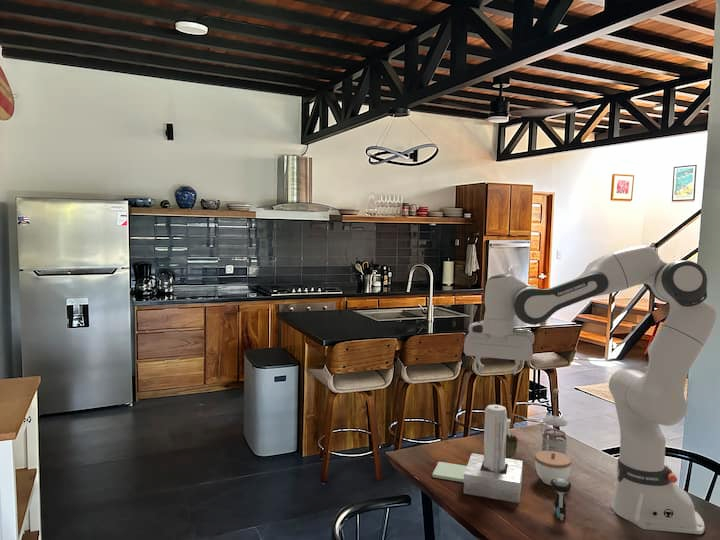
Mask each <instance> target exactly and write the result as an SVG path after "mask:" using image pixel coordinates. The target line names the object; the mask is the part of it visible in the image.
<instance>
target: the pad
mask: <svg viewBox="0 0 720 540" xmlns="http://www.w3.org/2000/svg"><path fill="white" fill-rule="evenodd" d="M466 467H467V465H463V464H457V463H449V462H445V461H438V462H437V465H436V467H435V468H434V470H433V472H432V475H431V477H432V478H434V479H435V478H436V479H441V480H447V481H453V482H459V483H464V473H465V470H466Z"/></svg>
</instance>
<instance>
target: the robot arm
mask: <svg viewBox="0 0 720 540" xmlns="http://www.w3.org/2000/svg"><path fill="white" fill-rule="evenodd" d="M639 285H642V286H644V288H646V289H647V290H648V292H649V293H650V294H651V295H652V296H653V297H654V298H655V299H656V300H658V301H660V302H663V303H666V304H667V303H668V304H669V310H668V314H667V316H666V318H665V320H664V321H663V323H662V325H660V327H659V330H658V331H657V332H656V333H655V335H654V338H653V339H652V341H651V342H650V344H649V346H648V348H647V354H648V364H647V368H646V371H645V373H644V372H642V371H640V370H636V369H629V368H624V369H623V368H622V369H619V370H617V371H616V372H614V373H612V375H611V377H610V378H609V382H608V389H609V390H608V391H609V392H610V394H611V395H612V398H613V402H614V405H615V409H616V415H617V419H618V424H619V425H618V426H619V431H620V432H619V433H620V436H619V437H620V439H619V457H618V458H617V464H616V478H617V483H616V486H615V487H616V488H615V491H614V492H615V493H614V496H613V499H612V501H611V503H610V507H611V510H612V511H613V512H614V513H615V514H616V515H618V516H619V517H621V518H623V519H625V520H627V521H629V522H631V523H633V524H635V525H636V526H637V527H638V528H640V529H642V530H647V531H648V530H649V531H650V530H651V531H657V532H658V531H660V532H671V533H681V534H682V533H683V534H690V535H691V534H694V535H702V534H704V532H705V528H706V527H705V522H704V519H703V518H702V516H701V515H700V513H698V512H697V510H695V506H694V503H693V500H692V499H691V497H690V495H689V494H688V493H687V492H686V491H685V490H684V489H682V488H681V487H680V486H679V485H678V484H677V482H678V478H677V475H676V474H675V473H673V470H671V469H670V467H669V466H668V465H665V464H666V463H665V457H666V438H665V435H664V434H663V432H662V430H661V427H660V425H662V426H668V427H669V426H670V427H671V426H674V425H677V424H678V423H680V422H681V421H682V420H683V419H684V418H685V416H686V414H687V411H688V410H687V409H688V404H687V400H686V398H685V387H686V383H687V382H686V381H687V377H688V374H689V372H690V370H691V368H692V366H693V364H694V362H695V361H696V359H697V358H698V356H699V354H700V352H701V351H702V349H703V347H704V346H705V344H706V342H707V341H708V339H709V337H710V335H711V333H712V331H713V327H714V325H715V323H716V319H717V312H716V310H715V308H714V307H713V306H712V305H711V304H710V303H709V302H707V301H706V299H707V297H708V291H707V289H708V288H707V287H708V286H707V285H708V277H707V273H706V271H705V269H704V268H703V267H702V266H701V265H700V264H698V263H697V262H695V261H691V260H686V259H685V260H684V259H680V260H675V261H672V262H668V263H667V262H664V261H663V260H662V259H661V257H660V255H659V253H658V252H657V251H656V250H655V249H654V248H652V247H651V246H649V245H637V246H632V247H628V248H624V249H620V250H617V251H614V252H610V253H608V254H606V255H603V256H601V257H598V258H596V259H594V260H593V261H592V262H589V263H588V265H587V266H586V267H585V269H584V271H583V272H582V273H581V274H580V275H579V276H577V277H576V278H573V279H571V280H568V281H566V282H562V283H560V284H558V285H555V286H552V287H550V288H543V289H542V288H539V287H537V286H535V285H532V284H529V283H527V282H524V281H522V280H521V279H519V278H517V277H515V276H514V275H513V274H511V273H500V274H496V275H492V276H491V277H489V278H488V279H487V280H486V284H485V291H484V307H485V312H484V314H483V320H480V321H475V322H472V323H470V324H469V325H468V333H467V335H466V336H465V338H464V344H463V353H464V354H465V356H468V357H475V362H476V364H477V366H478V371H479V372H484V371H485V364H482V362H481V358H490V359H491V358H493V359H502V360H514V364H515V365H514V366H511V367H510V375H516V374H517V368H518V367H519V366H520V364H521V361H524V362H530V361H531V360H533V357H534V356H533V353H534V352H533V344H534V343H535V338H536V337H535V333H534V332H533V331H531V330H530V329H526V328H525V329H521V328H515V316H516V317H517V318H518V319H519V320H520V321H521V322H522V323H525V324H526V325H530V326H531V325H534V326H536V325H540V324H543V323H544V322H546V321H547V320H548V319H550V317H552V315H554V314H555V313H556V312H558V311H559V310H561V309H564V308H567V307H569V306H571V305H574V304H577V303H579V302H582V301H584V300H587V299H590V298H594V297H599V296H604V295H605V296H606V295H610V294H614V293H618V292H621V291H625V290H627V289H630V288H632V287H636V286H639Z"/></svg>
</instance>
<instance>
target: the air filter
mask: <svg viewBox="0 0 720 540" xmlns="http://www.w3.org/2000/svg"><path fill="white" fill-rule="evenodd" d="M507 411H508V410H507V408H506V407H505V406H503V405H501V404H489V405H487V406H486V407H485V409H484V430H483V431H484V436H483V437H484V439H483V455H484V466H483V471H487V472H494V473H500V474H505V459H506V427H507V418H508V412H507Z"/></svg>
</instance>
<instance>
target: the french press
mask: <svg viewBox="0 0 720 540" xmlns="http://www.w3.org/2000/svg"><path fill="white" fill-rule="evenodd" d="M552 392H553V394H554V393H555V395H557V394H559V393H560V390H559V389H558V388H554V389H553V390H552ZM554 401H555V402H554V406H555V407H554V415H548V416H545V417H544V418H542V423H541V426H540V427H541V428H540V429H541V430H540V433H541V437H542V441H541V443H542V444H541V446H542V448H541V451H554V452H559V453H562V454H564V455H567V453H566V452H567V436H566V435H567V434H566V432H565V431H563V430H560V429H558V428H557V429H556V427H565V426H567V425H568V422H569V421H568V420H566V419H565V418H563V417H561V416H557V415H556V414H557V400H554ZM544 423H545V428H544V430H543V424H544ZM547 426H552V427H554V428H547ZM560 438H561V439H560Z"/></svg>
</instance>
